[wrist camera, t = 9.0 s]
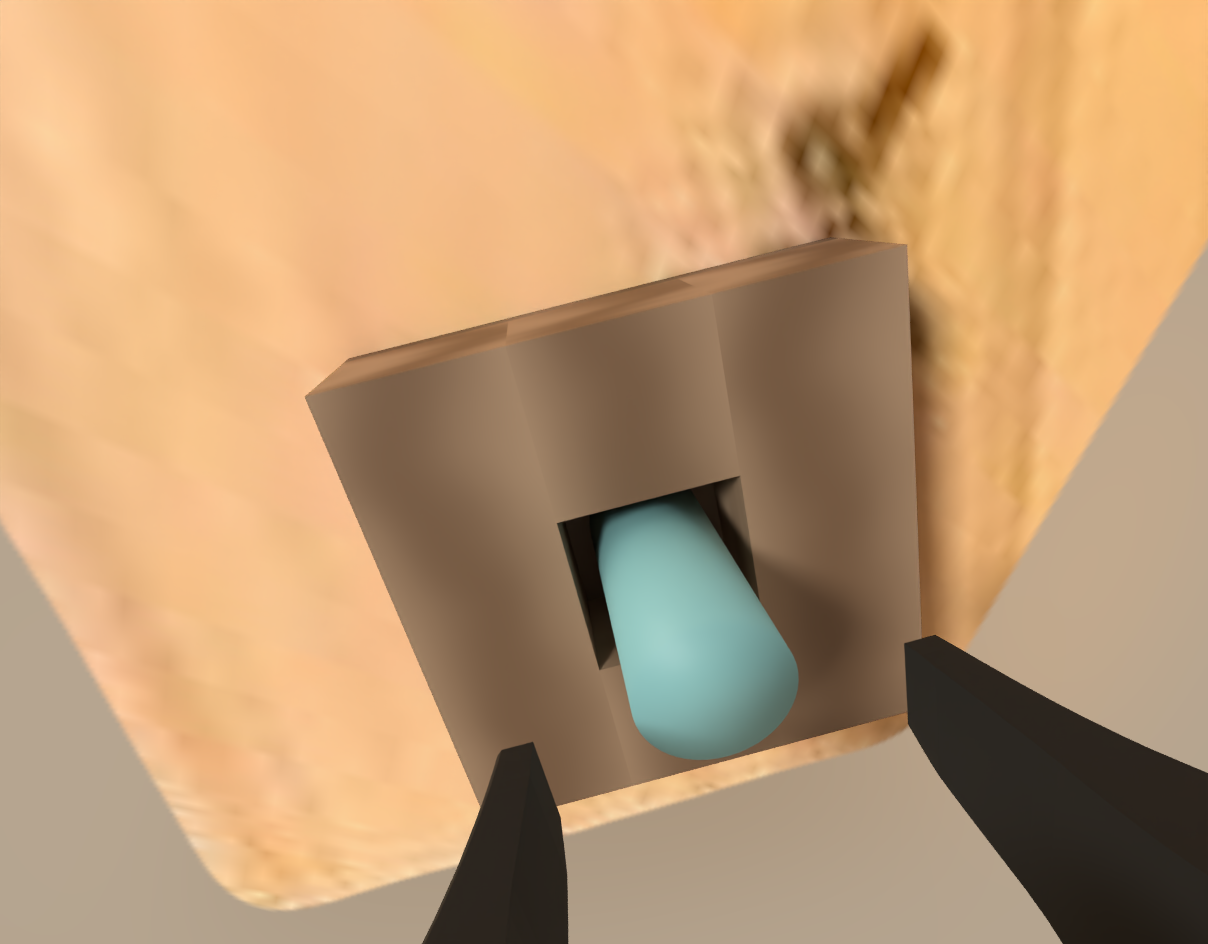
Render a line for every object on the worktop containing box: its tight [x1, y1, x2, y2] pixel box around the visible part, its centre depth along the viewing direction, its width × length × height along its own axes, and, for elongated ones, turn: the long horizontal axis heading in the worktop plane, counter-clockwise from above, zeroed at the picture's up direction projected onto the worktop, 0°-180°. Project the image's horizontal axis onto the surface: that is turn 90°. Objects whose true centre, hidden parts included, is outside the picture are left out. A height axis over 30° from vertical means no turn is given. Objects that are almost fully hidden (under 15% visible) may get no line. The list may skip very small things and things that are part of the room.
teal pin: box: [589, 489, 799, 760], centre depth 17 cm, size 4×4×8 cm
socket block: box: [305, 238, 922, 807], centre depth 19 cm, size 14×14×4 cm
